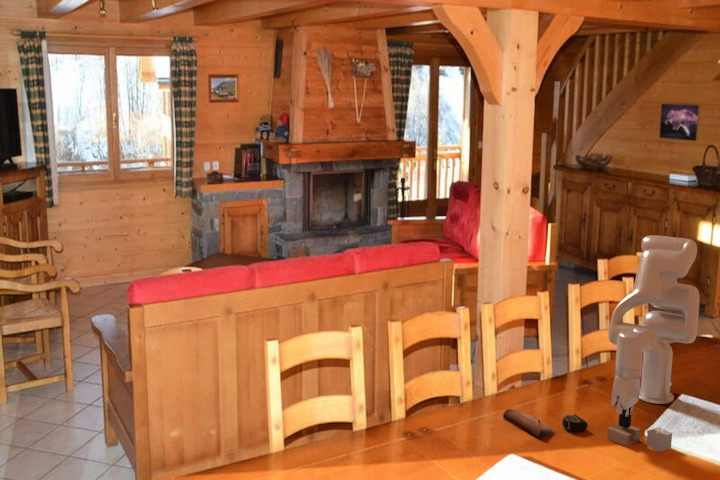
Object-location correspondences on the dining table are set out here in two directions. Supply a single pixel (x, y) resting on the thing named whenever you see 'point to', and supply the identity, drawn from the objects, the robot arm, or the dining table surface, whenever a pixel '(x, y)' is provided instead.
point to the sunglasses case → (529, 423)
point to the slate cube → (659, 439)
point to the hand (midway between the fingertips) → (624, 426)
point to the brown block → (623, 435)
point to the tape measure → (574, 423)
